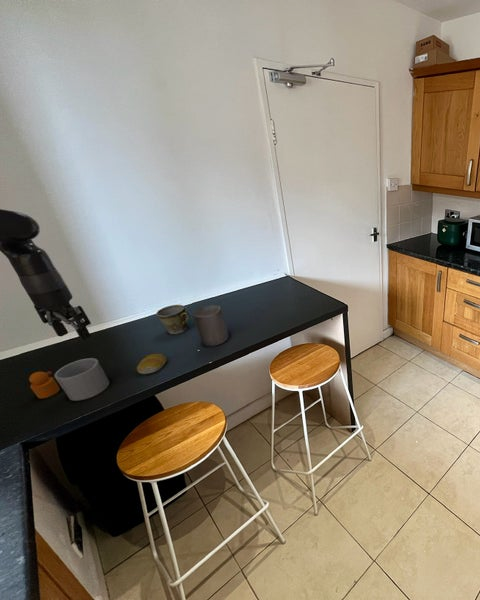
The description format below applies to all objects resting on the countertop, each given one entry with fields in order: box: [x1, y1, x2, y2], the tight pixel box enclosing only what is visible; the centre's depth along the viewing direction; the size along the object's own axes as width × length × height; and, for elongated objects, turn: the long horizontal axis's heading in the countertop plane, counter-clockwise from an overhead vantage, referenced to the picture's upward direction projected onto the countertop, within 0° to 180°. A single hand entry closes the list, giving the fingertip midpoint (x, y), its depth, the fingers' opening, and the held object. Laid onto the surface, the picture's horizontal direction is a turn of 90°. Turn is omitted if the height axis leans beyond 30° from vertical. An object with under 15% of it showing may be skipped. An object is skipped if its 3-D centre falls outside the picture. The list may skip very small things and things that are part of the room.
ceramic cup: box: [156, 304, 191, 335], centre depth 134 cm, size 13×10×10 cm
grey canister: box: [192, 304, 230, 347], centre depth 126 cm, size 10×10×15 cm
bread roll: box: [136, 353, 168, 375], centre depth 114 cm, size 8×9×4 cm
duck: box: [28, 371, 61, 399], centre depth 101 cm, size 6×5×8 cm
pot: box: [54, 357, 110, 402], centre depth 102 cm, size 10×10×9 cm
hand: (74, 336), depth 92 cm, fingers open, 8 cm apart
